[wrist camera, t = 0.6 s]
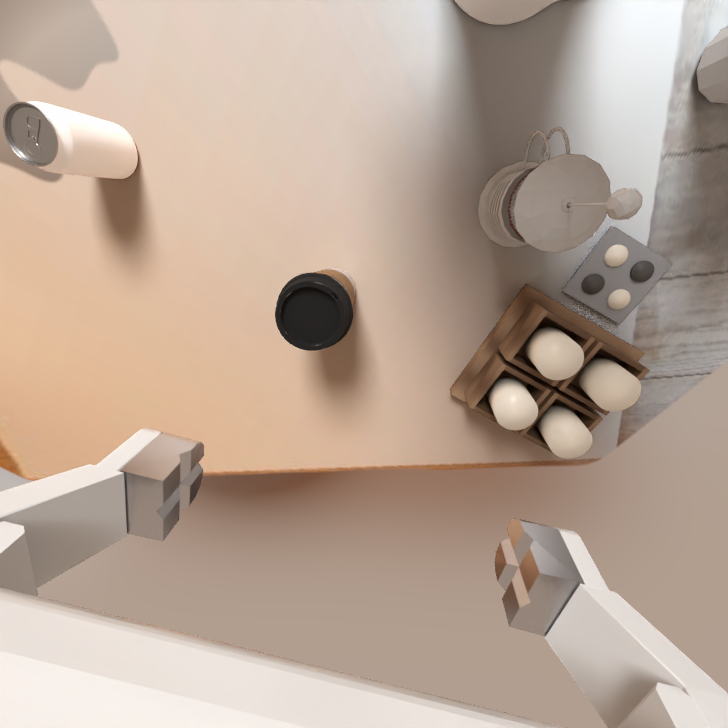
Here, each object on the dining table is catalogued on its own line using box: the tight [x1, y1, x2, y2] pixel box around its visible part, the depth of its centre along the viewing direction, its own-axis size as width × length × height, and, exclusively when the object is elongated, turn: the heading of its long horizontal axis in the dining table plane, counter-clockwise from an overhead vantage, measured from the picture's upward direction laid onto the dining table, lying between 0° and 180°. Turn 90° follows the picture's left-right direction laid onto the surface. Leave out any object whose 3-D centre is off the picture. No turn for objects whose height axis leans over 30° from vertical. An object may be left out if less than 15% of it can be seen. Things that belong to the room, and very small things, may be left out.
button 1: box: [487, 377, 538, 430], centre depth 48 cm, size 5×5×5 cm
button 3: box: [525, 326, 584, 380], centre depth 45 cm, size 5×5×5 cm
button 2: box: [537, 405, 593, 459], centre depth 48 cm, size 5×5×5 cm
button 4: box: [577, 357, 642, 412], centre depth 45 cm, size 5×5×5 cm
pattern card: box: [562, 226, 673, 324], centre depth 47 cm, size 9×9×1 cm
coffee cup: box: [275, 268, 356, 351], centre depth 45 cm, size 8×8×15 cm
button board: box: [450, 284, 650, 459], centre depth 50 cm, size 18×18×6 cm
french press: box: [478, 127, 642, 252], centre depth 34 cm, size 10×12×25 cm
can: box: [3, 101, 138, 179], centre depth 43 cm, size 6×6×12 cm
